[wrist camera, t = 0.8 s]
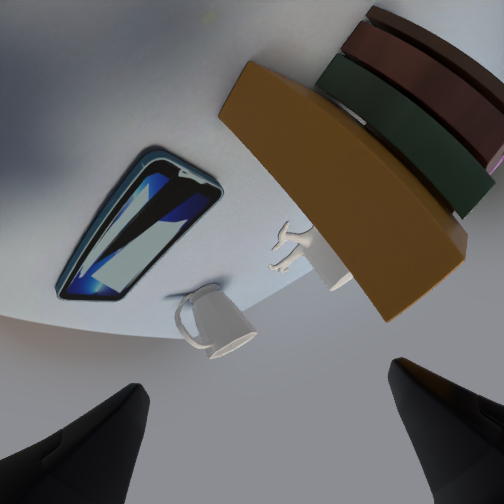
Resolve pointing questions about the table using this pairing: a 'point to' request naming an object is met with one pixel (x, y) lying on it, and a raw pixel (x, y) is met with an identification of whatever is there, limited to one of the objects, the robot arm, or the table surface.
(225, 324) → the cup
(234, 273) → the table surface
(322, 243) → the tree stump
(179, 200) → the smartphone
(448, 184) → the bookshelf
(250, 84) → the ochre book
